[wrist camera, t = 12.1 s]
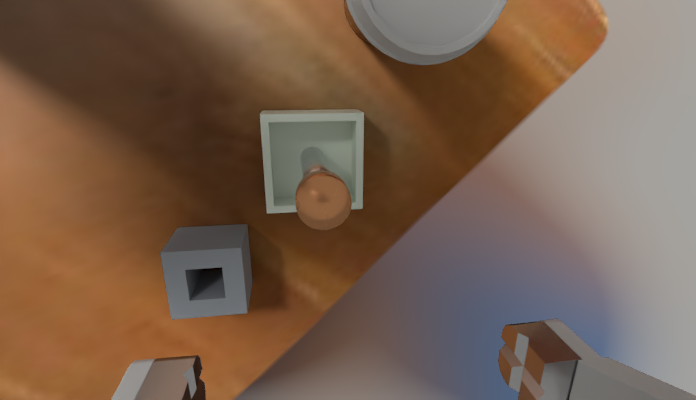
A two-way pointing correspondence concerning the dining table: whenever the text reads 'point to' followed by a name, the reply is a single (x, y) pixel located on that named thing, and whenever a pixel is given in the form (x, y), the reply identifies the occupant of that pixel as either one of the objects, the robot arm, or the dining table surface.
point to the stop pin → (321, 193)
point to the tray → (303, 132)
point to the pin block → (208, 271)
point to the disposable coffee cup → (423, 26)
